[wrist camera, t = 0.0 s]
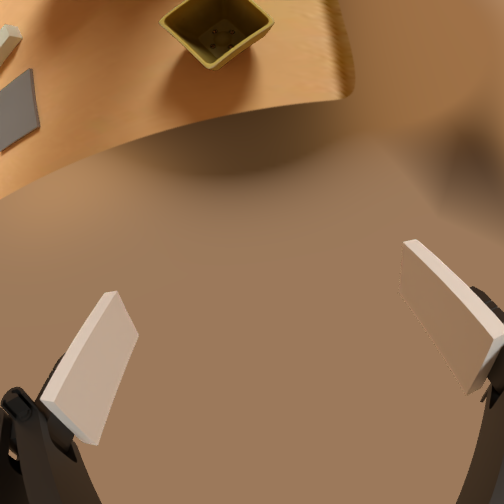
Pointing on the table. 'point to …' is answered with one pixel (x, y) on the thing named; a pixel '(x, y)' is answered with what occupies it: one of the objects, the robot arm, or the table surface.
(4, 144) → the slate coaster
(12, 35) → the sage block
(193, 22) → the flower pot
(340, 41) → the table surface
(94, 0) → the table surface
